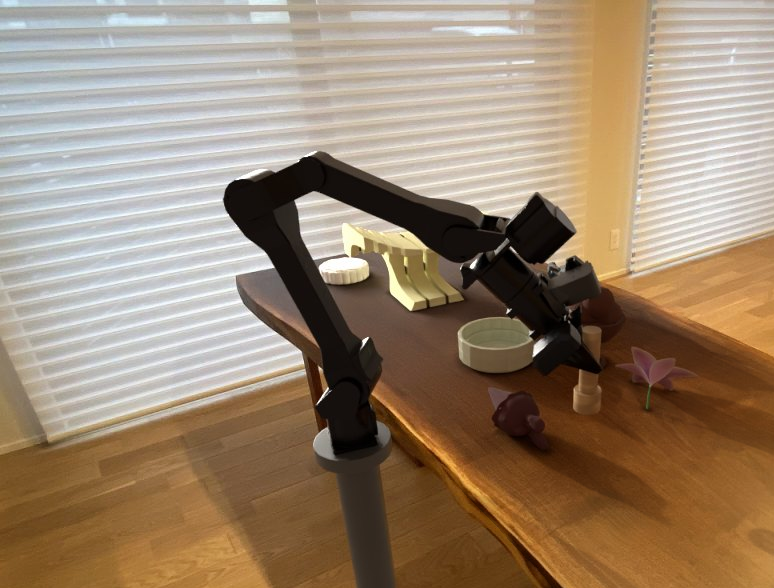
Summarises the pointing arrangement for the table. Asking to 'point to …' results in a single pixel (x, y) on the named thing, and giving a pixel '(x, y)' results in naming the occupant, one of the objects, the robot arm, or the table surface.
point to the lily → (654, 370)
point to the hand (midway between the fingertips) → (599, 366)
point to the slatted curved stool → (404, 266)
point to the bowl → (495, 345)
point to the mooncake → (344, 270)
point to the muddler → (589, 377)
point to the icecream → (518, 415)
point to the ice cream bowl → (602, 316)
